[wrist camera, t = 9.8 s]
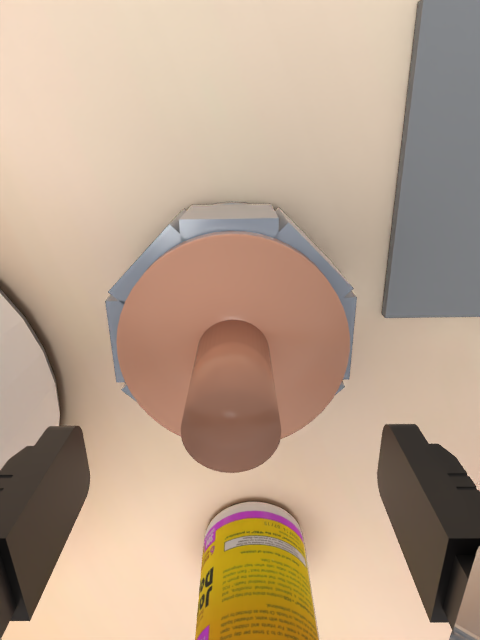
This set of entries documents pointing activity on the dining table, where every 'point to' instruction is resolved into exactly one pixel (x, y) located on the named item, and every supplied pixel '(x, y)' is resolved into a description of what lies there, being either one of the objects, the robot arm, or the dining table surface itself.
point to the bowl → (218, 220)
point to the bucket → (23, 384)
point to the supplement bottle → (255, 577)
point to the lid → (233, 345)
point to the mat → (439, 170)
